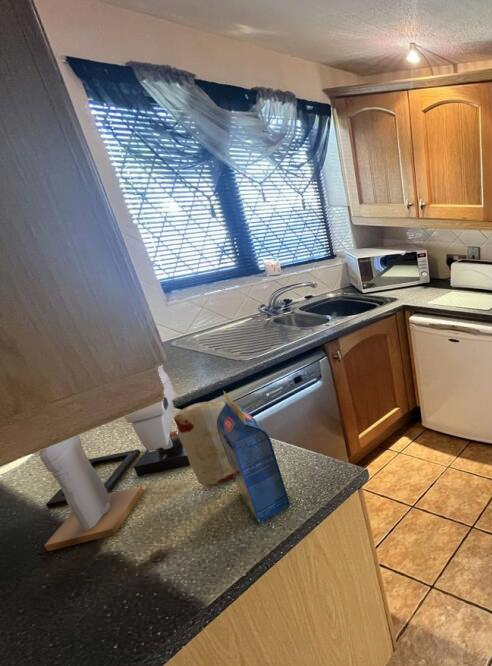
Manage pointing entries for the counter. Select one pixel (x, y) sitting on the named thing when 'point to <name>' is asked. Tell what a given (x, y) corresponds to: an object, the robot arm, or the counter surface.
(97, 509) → the tall pale column
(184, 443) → the food model
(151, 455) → the panel
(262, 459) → the blue food package
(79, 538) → the oak board
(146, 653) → the counter surface
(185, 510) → the counter surface
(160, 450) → the knob
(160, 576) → the counter surface
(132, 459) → the black rectangular frame
